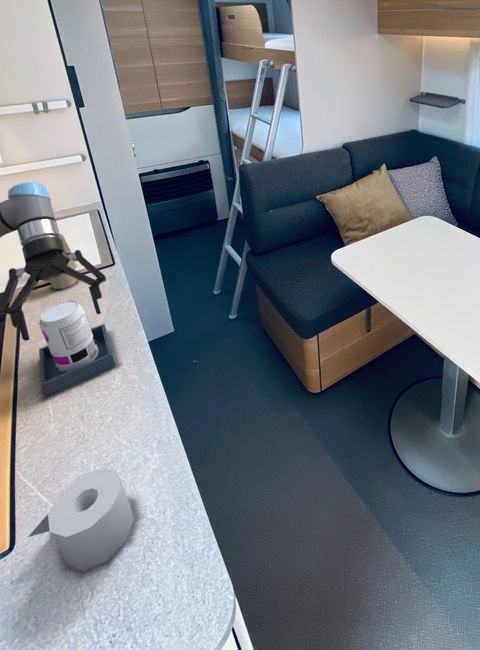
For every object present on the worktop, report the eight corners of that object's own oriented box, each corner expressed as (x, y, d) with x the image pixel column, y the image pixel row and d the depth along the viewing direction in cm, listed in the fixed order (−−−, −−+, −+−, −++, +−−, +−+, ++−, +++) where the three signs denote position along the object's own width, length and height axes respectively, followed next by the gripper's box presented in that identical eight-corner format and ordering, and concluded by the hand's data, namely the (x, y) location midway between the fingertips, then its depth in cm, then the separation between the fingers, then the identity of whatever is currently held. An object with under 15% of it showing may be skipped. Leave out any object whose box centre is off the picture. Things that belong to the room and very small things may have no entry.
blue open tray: (44, 360, 99) (39, 348, 97) (107, 334, 106) (104, 323, 105) (46, 397, 89) (40, 385, 88) (116, 366, 97) (112, 354, 95)
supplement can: (54, 380, 93) (32, 328, 87) (63, 354, 100) (42, 304, 94) (96, 367, 96) (77, 316, 90) (101, 343, 103) (84, 295, 97)
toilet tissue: (45, 527, 66) (27, 494, 63) (137, 492, 71) (125, 459, 68) (26, 595, 59) (4, 561, 55) (130, 551, 63) (116, 517, 60)
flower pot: (65, 294, 122) (56, 270, 119) (38, 291, 124) (28, 267, 120) (90, 276, 131) (82, 252, 127) (65, 273, 132) (57, 250, 129)
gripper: (103, 231, 109) (126, 306, 104) (-23, 265, 95) (-3, 353, 89) (100, 221, 103) (124, 299, 98) (-34, 255, 89) (-14, 349, 84)
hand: (63, 325), depth 94 cm, fingers open, 13 cm apart
